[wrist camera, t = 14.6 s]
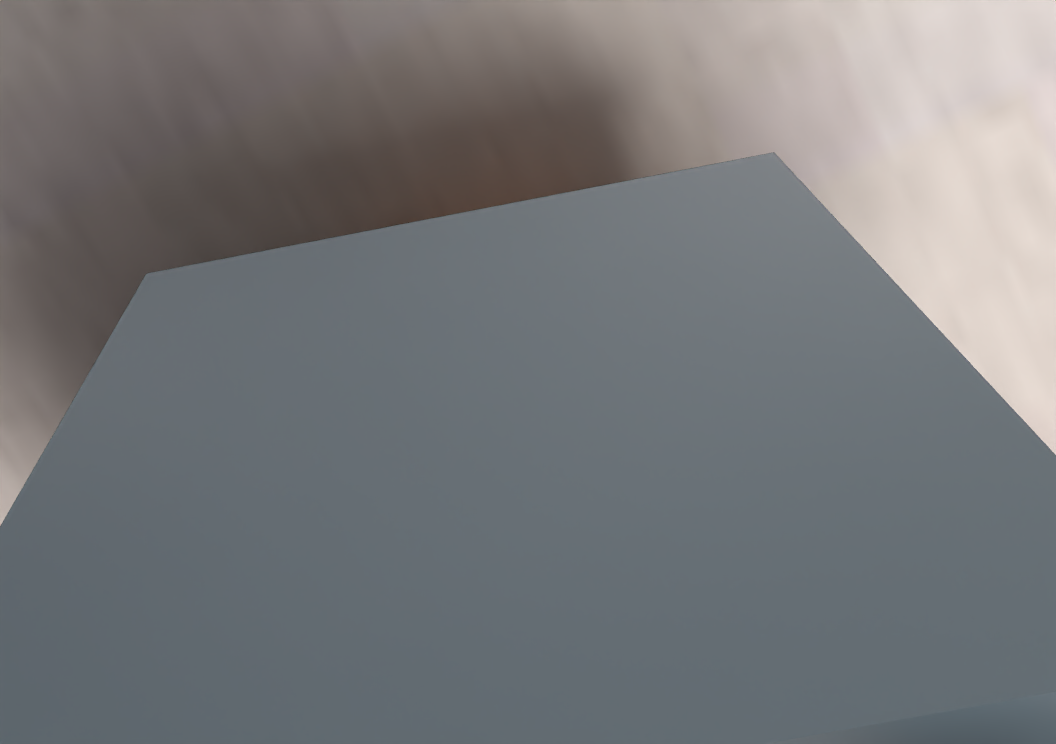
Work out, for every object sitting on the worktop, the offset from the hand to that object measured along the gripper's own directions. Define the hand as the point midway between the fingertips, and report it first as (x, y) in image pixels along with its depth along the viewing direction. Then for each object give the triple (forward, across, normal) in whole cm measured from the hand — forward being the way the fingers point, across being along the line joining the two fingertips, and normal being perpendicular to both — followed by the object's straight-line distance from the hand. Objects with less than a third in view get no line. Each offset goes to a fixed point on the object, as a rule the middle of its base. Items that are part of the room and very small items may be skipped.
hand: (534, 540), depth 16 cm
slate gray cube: (0, 0, -2) cm, 3 cm away
